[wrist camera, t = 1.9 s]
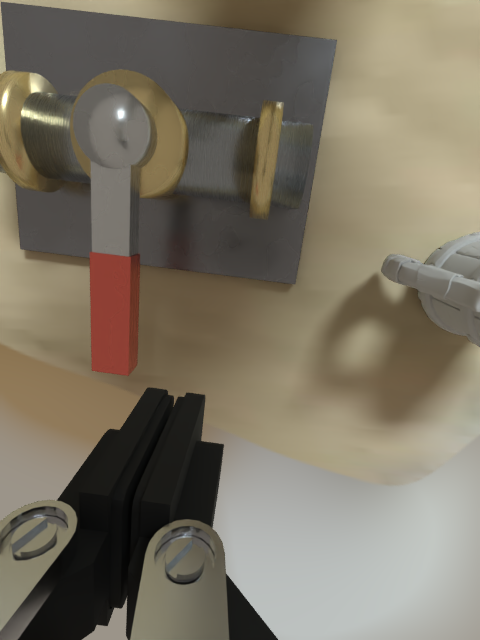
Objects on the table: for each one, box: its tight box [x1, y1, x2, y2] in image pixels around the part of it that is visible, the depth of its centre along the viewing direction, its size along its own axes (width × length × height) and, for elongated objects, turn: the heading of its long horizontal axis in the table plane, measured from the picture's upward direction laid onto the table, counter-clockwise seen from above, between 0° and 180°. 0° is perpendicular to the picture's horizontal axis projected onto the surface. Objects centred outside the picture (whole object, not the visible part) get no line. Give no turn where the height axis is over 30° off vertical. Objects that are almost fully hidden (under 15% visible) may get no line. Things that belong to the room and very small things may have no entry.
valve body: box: [0, 2, 337, 284], centre depth 22 cm, size 16×22×8 cm
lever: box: [73, 83, 157, 376], centre depth 19 cm, size 15×4×2 cm, turn 173°
